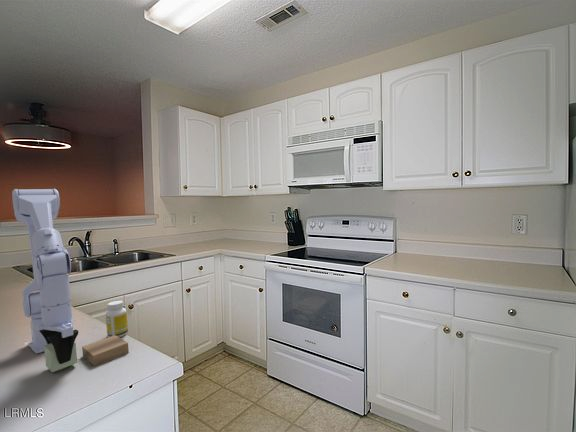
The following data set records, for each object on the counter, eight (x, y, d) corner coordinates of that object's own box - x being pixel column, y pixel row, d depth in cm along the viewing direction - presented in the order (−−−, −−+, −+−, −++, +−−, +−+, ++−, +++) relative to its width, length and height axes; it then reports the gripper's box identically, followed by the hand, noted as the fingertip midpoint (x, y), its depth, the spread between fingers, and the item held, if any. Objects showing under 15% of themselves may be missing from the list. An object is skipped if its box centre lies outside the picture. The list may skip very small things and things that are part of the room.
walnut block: (83, 358, 79) (82, 346, 79) (116, 345, 85) (115, 335, 85) (94, 367, 74) (93, 355, 74) (128, 353, 80) (127, 342, 80)
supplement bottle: (131, 330, 94) (129, 299, 93) (122, 338, 88) (120, 305, 88) (113, 331, 94) (111, 300, 93) (103, 339, 88) (100, 306, 88)
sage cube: (45, 365, 73) (44, 345, 73) (70, 356, 77) (68, 337, 77) (52, 372, 70) (50, 351, 70) (77, 362, 74) (75, 342, 74)
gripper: (27, 302, 74) (32, 356, 75) (43, 314, 65) (49, 376, 66) (61, 294, 80) (66, 345, 80) (81, 304, 70) (86, 361, 71)
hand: (61, 358), depth 73 cm, fingers closed on sage cube, 5 cm apart
